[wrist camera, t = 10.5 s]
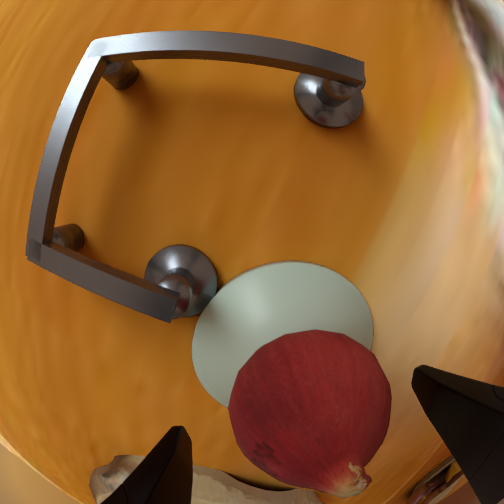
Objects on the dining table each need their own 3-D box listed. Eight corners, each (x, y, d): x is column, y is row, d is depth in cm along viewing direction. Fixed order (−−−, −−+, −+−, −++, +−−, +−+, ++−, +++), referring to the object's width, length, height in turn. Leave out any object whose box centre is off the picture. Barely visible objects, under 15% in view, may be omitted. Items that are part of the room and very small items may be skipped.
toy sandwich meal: (451, 476, 22) (462, 492, 17) (388, 506, 21) (398, 526, 16) (489, 428, 20) (504, 445, 15) (428, 463, 19) (444, 487, 14)
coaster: (364, 242, 12) (370, 245, 11) (366, 388, 14) (369, 393, 13) (170, 282, 12) (167, 286, 11) (219, 422, 14) (218, 429, 13)
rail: (337, 35, 10) (362, 2, 7) (385, 270, 12) (423, 290, 9) (48, 100, 9) (12, 85, 6) (89, 327, 12) (60, 358, 9)
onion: (297, 411, 13) (338, 531, 5) (205, 371, 12) (194, 523, 4) (367, 333, 12) (466, 436, 5) (277, 274, 11) (361, 408, 4)
